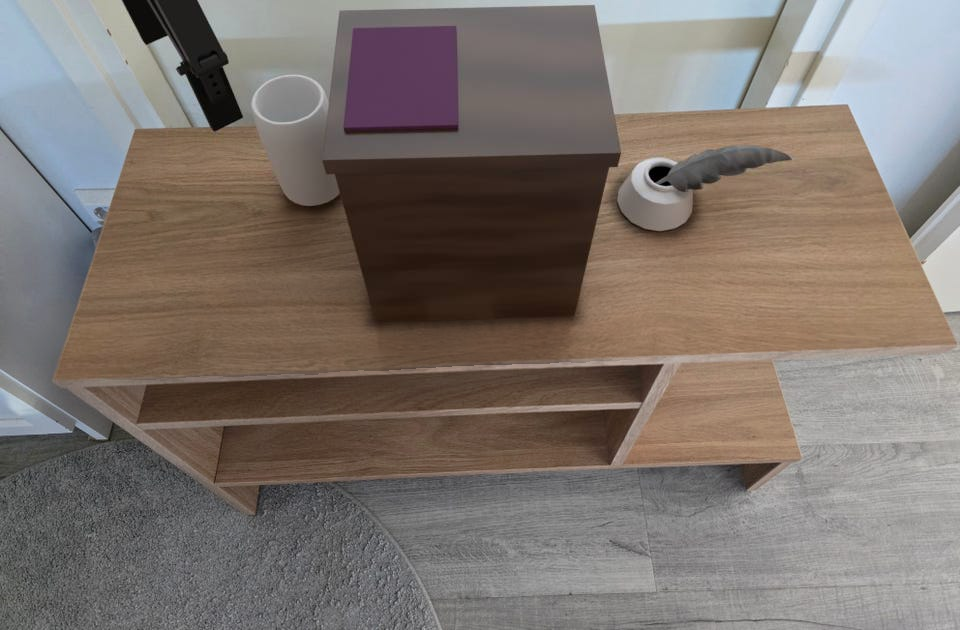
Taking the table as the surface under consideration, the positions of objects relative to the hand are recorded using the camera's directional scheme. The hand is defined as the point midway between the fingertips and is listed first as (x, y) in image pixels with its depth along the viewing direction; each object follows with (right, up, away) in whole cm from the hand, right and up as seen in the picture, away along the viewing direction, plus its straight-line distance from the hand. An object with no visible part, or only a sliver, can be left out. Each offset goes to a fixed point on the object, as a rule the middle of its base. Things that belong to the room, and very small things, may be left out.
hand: (191, 78), depth 59 cm
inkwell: (+51, -7, +24) cm, 57 cm away
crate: (+24, -14, +20) cm, 34 cm away
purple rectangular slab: (+19, -1, -3) cm, 19 cm away
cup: (+5, -5, +25) cm, 26 cm away
